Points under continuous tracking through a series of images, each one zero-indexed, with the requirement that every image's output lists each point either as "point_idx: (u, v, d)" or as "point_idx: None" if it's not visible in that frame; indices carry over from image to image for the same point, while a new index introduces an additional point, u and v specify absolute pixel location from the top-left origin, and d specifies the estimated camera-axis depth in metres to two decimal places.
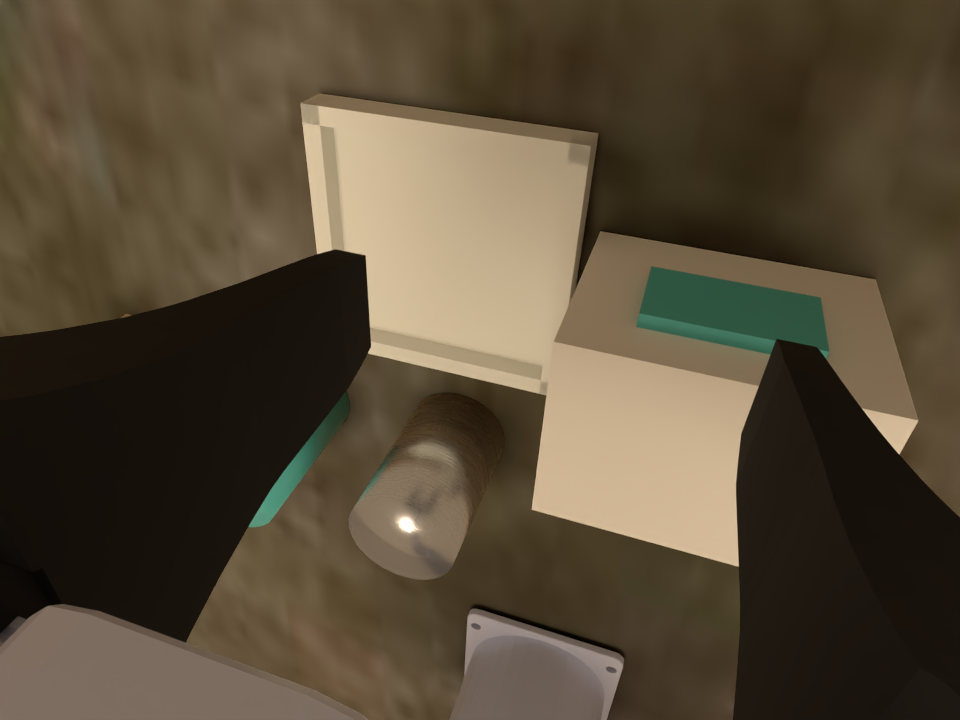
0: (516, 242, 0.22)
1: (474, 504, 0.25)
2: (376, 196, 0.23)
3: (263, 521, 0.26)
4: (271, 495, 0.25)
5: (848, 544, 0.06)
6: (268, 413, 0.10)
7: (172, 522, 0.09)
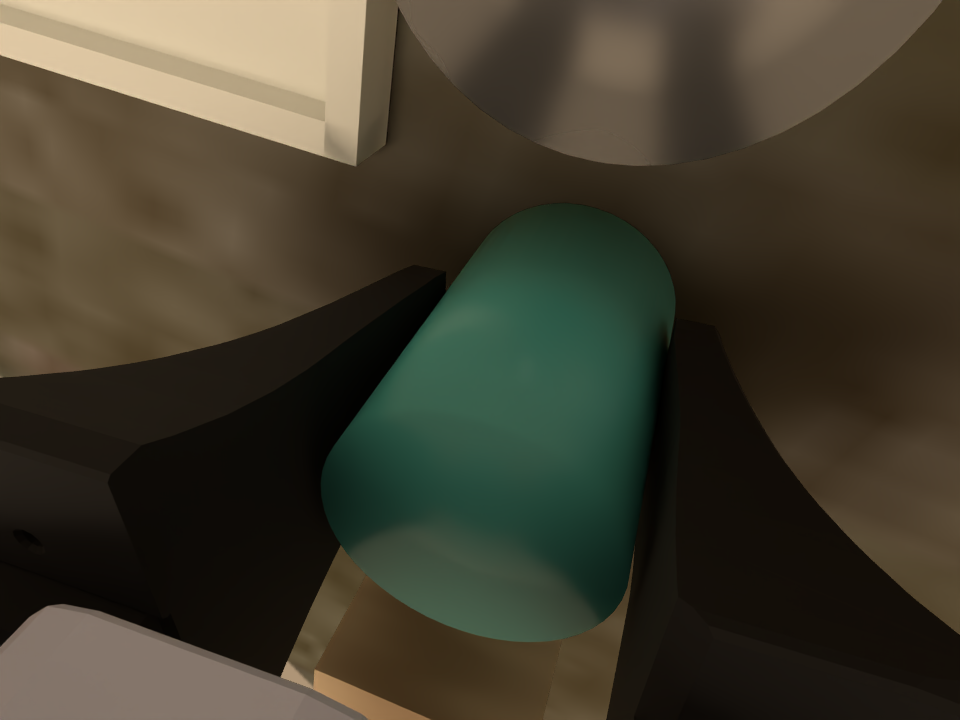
0: None
1: None
2: None
3: (594, 509, 0.07)
4: (463, 418, 0.07)
5: (677, 499, 0.07)
6: None
7: (277, 556, 0.08)
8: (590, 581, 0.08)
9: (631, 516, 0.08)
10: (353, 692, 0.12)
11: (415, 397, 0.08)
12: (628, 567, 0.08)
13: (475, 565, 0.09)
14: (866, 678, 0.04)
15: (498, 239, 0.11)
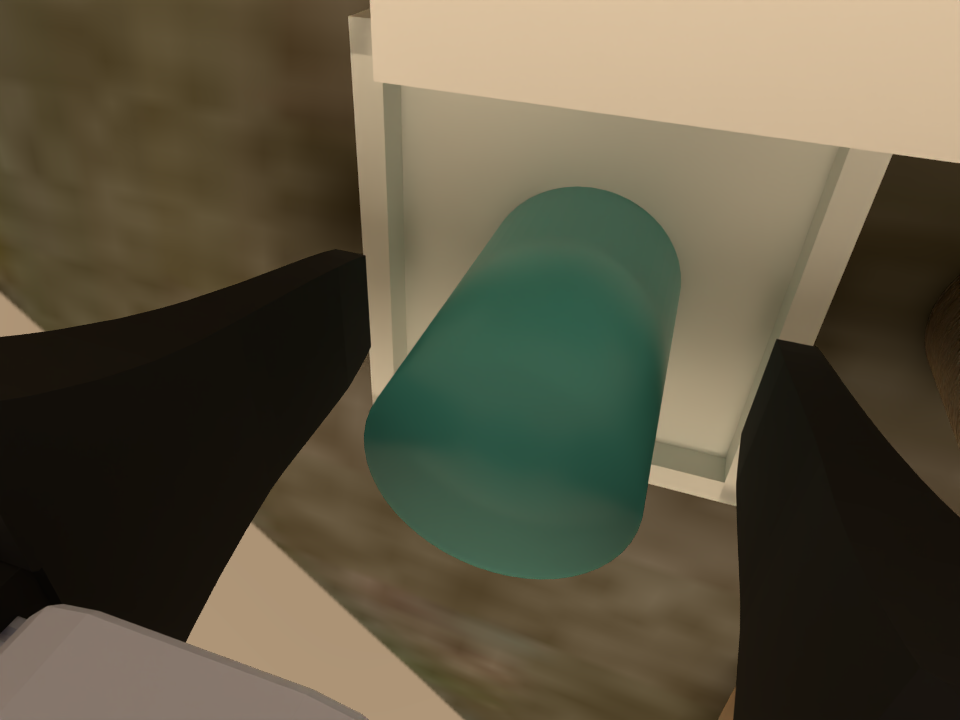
0: (555, 152, 0.13)
1: None
2: None
3: (611, 444, 0.08)
4: (493, 364, 0.08)
5: (848, 544, 0.06)
6: (268, 413, 0.10)
7: (172, 522, 0.09)
8: (609, 514, 0.09)
9: (644, 453, 0.09)
10: None
11: (449, 351, 0.09)
12: (642, 498, 0.09)
13: (504, 506, 0.10)
14: None
15: (515, 220, 0.12)
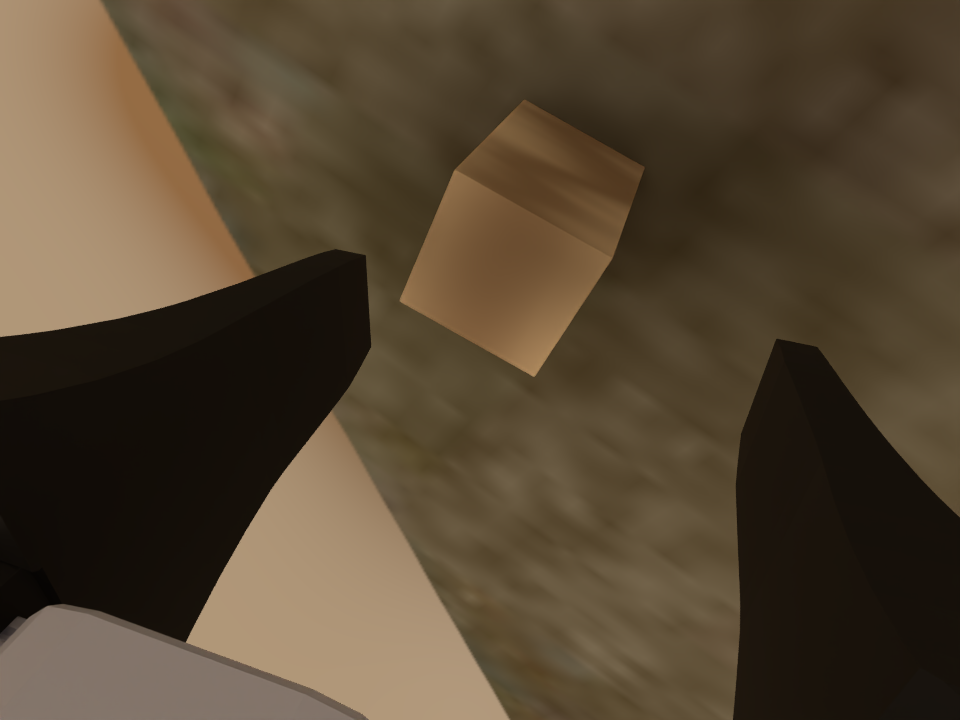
0: None
1: None
2: None
3: None
4: None
5: (848, 544, 0.06)
6: (268, 412, 0.10)
7: (172, 522, 0.09)
8: None
9: None
10: (481, 195, 0.15)
11: None
12: None
13: None
14: None
15: None
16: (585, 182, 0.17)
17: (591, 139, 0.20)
